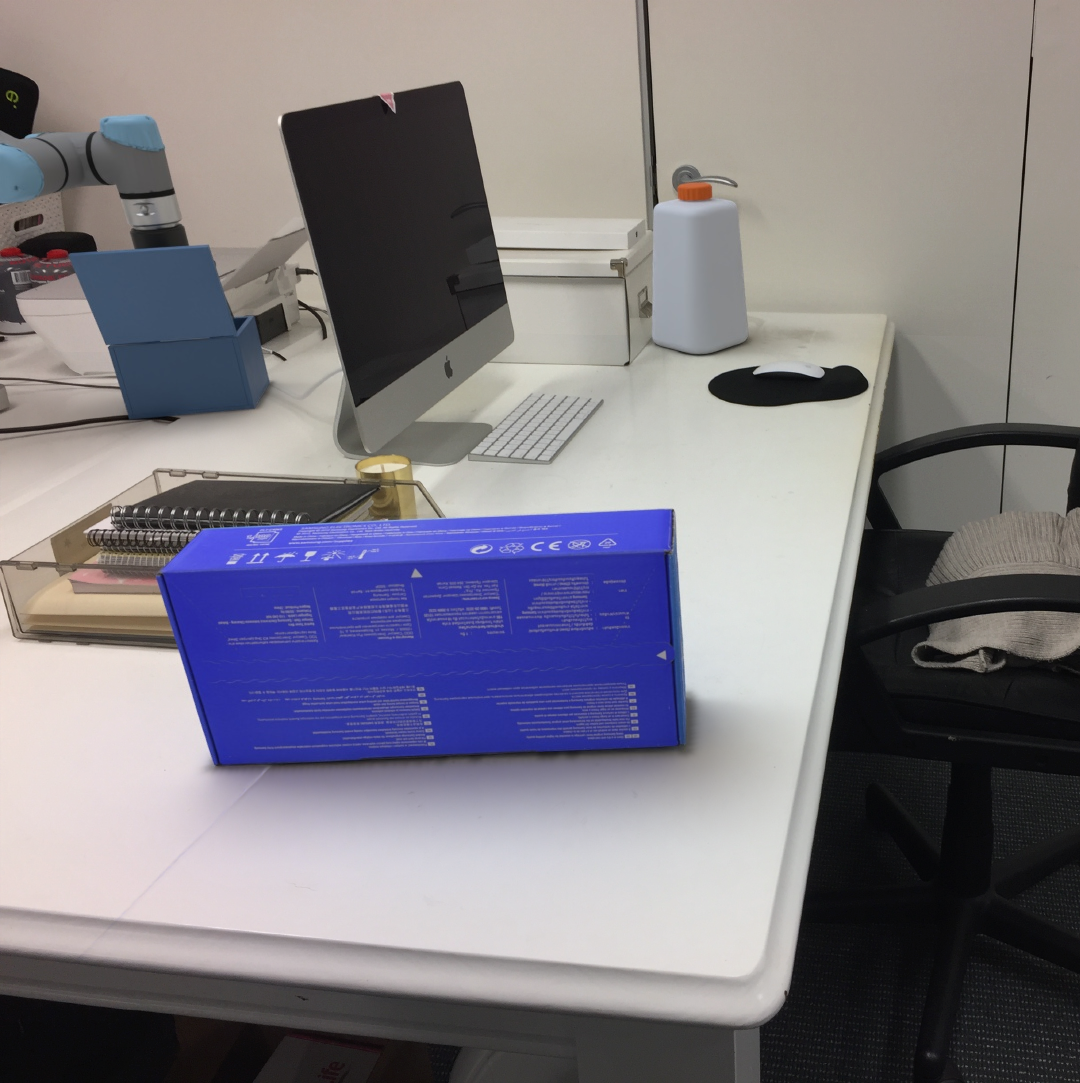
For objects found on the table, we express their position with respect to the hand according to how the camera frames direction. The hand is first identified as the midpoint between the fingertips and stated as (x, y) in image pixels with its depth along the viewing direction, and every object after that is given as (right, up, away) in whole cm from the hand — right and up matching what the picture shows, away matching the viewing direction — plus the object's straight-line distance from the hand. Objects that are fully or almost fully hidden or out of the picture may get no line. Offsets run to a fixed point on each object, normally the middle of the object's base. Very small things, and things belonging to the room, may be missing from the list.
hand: (195, 370), depth 167 cm
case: (0, -5, +2) cm, 5 cm away
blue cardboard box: (+63, -44, -79) cm, 110 cm away
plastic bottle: (+81, +9, +26) cm, 86 cm away
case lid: (+1, +9, -14) cm, 16 cm away
